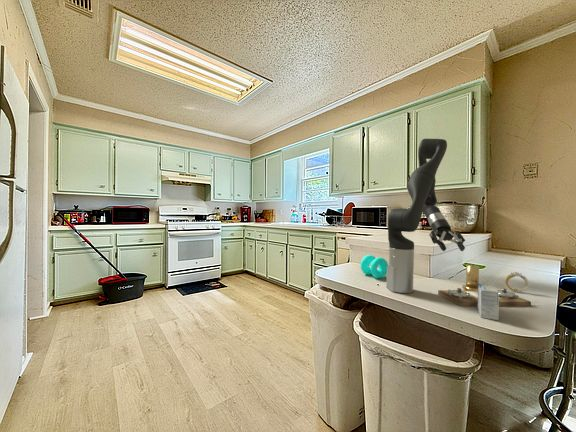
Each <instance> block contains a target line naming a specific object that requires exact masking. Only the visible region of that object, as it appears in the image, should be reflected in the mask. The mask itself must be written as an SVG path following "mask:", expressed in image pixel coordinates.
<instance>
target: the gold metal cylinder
mask: <svg viewBox="0 0 576 432" xmlns="http://www.w3.org/2000/svg"><path fill="white" fill-rule="evenodd" d="M465 267H466V269H465V285H464V284H462V290H478V284H480V281H479V279H480V277H479V276H480V266H479V265H476V264H475V265H474V264H466V266H465Z"/></svg>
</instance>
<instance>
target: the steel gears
mask: <svg viewBox="0 0 576 432" xmlns="http://www.w3.org/2000/svg"><path fill="white" fill-rule="evenodd" d="M461 290H462V288H460V287H458V288H457V289H448V293H449V296H454V297H458V298H459V299H462V298H468V299H471V295H470V293H469V292H464V291H461ZM497 291H498V292H499V297H503V298H506V299H509V298H515V299H517V297H519V295H518V294H516V293H515V291H507V288H505V287H504V288H503V287H502V288H501V289H497Z"/></svg>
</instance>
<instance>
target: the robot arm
mask: <svg viewBox="0 0 576 432" xmlns="http://www.w3.org/2000/svg"><path fill="white" fill-rule="evenodd" d="M447 149H448V142H447V140H446V139H443V138H423V139H421V140H420V143H419V145H418V151H417V156H418V167H417V168H416V169H414V170H413V172H412V173H411V174H410V177H409V180H408V181H407V184H406V189H407V192H408V194H409V196H410V197H411V201H412V203H411V205H410V207H409V208H392V209H391V210H390V211H389V213H388V216H387V231H388V232H387V236H388V237H387V240H388V245H389V247H388V249H389V251H388V265H387V274H386V283H385V284H386V289H388V290H389V291H390V292H391V293H400V294H412V293H413V292H414V274H415V273H414V266H415V263H414V261H415V243H414V241H413V240H411V239H409V238H407V237H406V236H404V235H403V234H402V232H404V233H405V232H407V233H411V232H412V233H414V232H415V231H416V230H417V229H418V227H419V225H420V222H421V220H422V216H423V215H424V216H425V217H426V219H427V221H428V222H427V223H428V224H429V226H430V227H431V231H430V233H429V237H430V239H431V242H432V243H433V244H434V245H435V244H437V245H438V246H439V249H441V250H442V251H443V252H445V251H447V247H446V245H445V242H447V241H448V242H451V243H454V244H456V246H457V247H458V248H459V249H458V250H460V251H461V252H464V250H465V249H466V247H465V245H464V242H465V241H466V239H465V238H464V236H463V235H462V234H461V232H460V231H459V230H457V231H456V232H455V231H453V230H452V226H451V225H450V224H449V222H448V220H447V218H446V217H445V215H443V214H442V211H441V210H440V208H439V207H438V206H436V205H437V203H438V199H437V196H436V191H435V190H436V175H437V171H438V169H439V167H440V164H441V162H442V161H443V159H444V157H445V155H446V152H447ZM427 159H428V161H427ZM443 241H444V242H443Z"/></svg>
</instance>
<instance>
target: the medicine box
mask: <svg viewBox="0 0 576 432" xmlns="http://www.w3.org/2000/svg"><path fill="white" fill-rule="evenodd" d="M497 290H498V289H497V287H495V285H490V284H482V283H479V284H478V306H477V311H478V313H479V316H480V318H482V319H488V320H492V321H499V319H500V313H499V309H500V306H499V292H498V291H497Z"/></svg>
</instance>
